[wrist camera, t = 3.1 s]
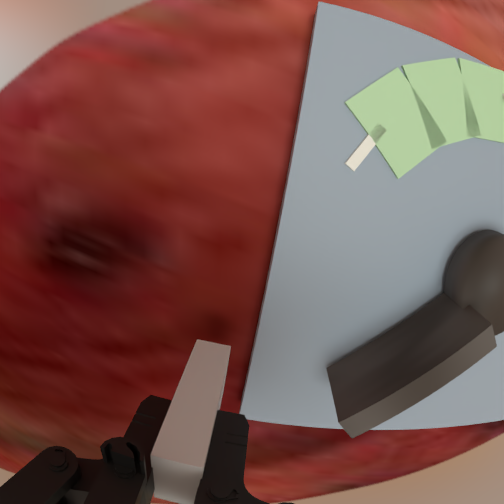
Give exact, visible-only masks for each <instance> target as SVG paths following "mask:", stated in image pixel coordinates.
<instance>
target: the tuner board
mask: <svg viewBox="0 0 504 504" xmlns="http://www.w3.org/2000/svg"><path fill="white" fill-rule="evenodd" d="M482 230H494V231H497V232H499V233H502V234H504V71H501V70H498V69H495V68H492V67H490V66H489V65H487V64H485V63H483V62H481V61H480V60H478V59H476V58H474V57H472V56H470V55H468V54H466V53H464V52H462V51H460V50H458V49H456V48H454V47H452V46H450V45H448V44H446V43H443V42H441V41H439V40H437V39H434V38H432V37H430V36H427V35H425V34H423V33H420V32H418V31H415V30H413V29H410V28H407V27H405V26H402V25H399V24H396V23H394V22H391V21H388V20H385V19H382V18H379V17H376V16H372V15H369V14H366V13H362V12H359V11H355V10H352V9H348V8H344V7H340V6H336V5H332V4H328V3H323V2H318V6H317V9H316V12H315V17H314V23H313V29H312V35H311V41H310V47H309V54H308V60H307V65H306V71H305V77H304V83H303V89H302V95H301V100H300V106H299V112H298V118H297V123H296V129H295V134H294V140H293V145H292V151H291V156H290V162H289V167H288V173H287V178H286V183H285V189H284V194H283V199H282V204H281V210H280V215H279V220H278V225H277V230H276V235H275V241H274V246H273V251H272V256H271V261H270V266H269V271H268V276H267V281H266V286H265V291H264V296H263V300H262V305H261V310H260V315H259V320H258V325H257V329H256V334H255V339H254V344H253V348H252V353H251V358H250V362H249V367H248V372H247V376H246V381H245V386H244V390H243V395H242V399H241V405H240V413H239V414H243V415H245V417H246V419H249V420H255V421H262V422H270V423H278V424H286V425H296V426H306V427H319V428H334V429H343V427H342V426H341V425H340V424H339V423H338V418H337V414H336V409H335V405H334V400H333V395H332V391H331V387H330V382H329V378H328V373H327V369H326V368H327V367H329V366H331V365H333V364H334V363H336V362H338V361H340V360H342V359H343V358H345V357H347V356H349V355H350V354H352V353H354V352H355V351H357V350H359V349H360V348H362V347H364V346H365V345H367V344H369V343H370V342H372V341H374V340H375V339H377V338H378V337H380V336H382V335H383V334H385V333H386V332H388V331H389V330H391V329H393V328H394V327H396V326H397V325H399V324H400V323H402V322H403V321H405V320H406V319H408V318H409V317H411V316H412V315H414V314H415V313H417V312H418V311H419V310H421V309H422V308H424V307H425V306H427V305H428V304H429V303H431V302H432V301H434V300H435V299H436V298H438V297H439V296H440V295H442V294H443V293H444V281H445V275H446V271H447V268H448V265H449V263H450V261H451V258H452V256H453V255H454V253H455V251H456V250H457V249H458V247H459V246H460V245H461V244H462V243H463V241H465V240H466V239H467V238H468V237H469V236H471V235H472V234H474V233H476V232H479V231H482ZM495 339H496V344H497V347H496V348H494V349H493V350H492V351H491V352H490V353H488V354H487V355H486V356H484V357H483V358H482V359H481V360H479V361H478V362H477V363H475V364H474V365H473V366H471V367H470V368H469V369H467V370H466V371H465V372H463V373H462V374H461V375H459V376H458V377H456V378H455V379H453V380H452V381H451V382H449V383H448V384H446V385H445V386H443V387H442V388H440V389H439V390H437V391H436V392H434V393H433V394H431V395H429V396H428V397H426V398H425V399H423V400H421V401H420V402H418V403H417V404H415V405H413V406H412V407H410V408H408V409H407V410H405V411H403V412H401V413H400V414H398V415H396V416H394V417H393V418H391V419H389V420H387V421H385V422H383V423H382V424H380V425H378V426H376V427H374V428H372V429H370V430H403V429H426V428H441V427H453V426H462V425H471V424H479V423H486V422H493V421H499V420H504V332H502V333H500V334H498V335H496V336H495Z"/></svg>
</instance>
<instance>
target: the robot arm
mask: <svg viewBox="0 0 504 504" xmlns="http://www.w3.org/2000/svg"><path fill="white" fill-rule="evenodd" d="M230 350H231V346H228V345H223V344H218V343H213V342H208V341H203V340H198V339H197V341H196V343H195V346H194V348H193V350H192V353H191V355H190V358H189V360H188V363H187V365H186V367H185V370H184V372H183V375H182V377H181V380H180V382H179V385H178V387H177V390H176V392H175V395H174V397H173V399H172V400H168V399H164V398H160V397H156V396H153V395H150V396H149V397H148V398H146V399H145V400H144V401H142V402H141V404H140V406H139V408H138V410H137V411H136V414H135V415H134V417H133V419H132V422H131V423H130V425H129V427H128V429H127V431H126V433H125V435H124V437H116V438H111V439H109V440H107V441H105V442H104V443H103V444H102V445H101V446H100V448H101V452H102V456H103V459H100V460H92V459H83V458H76V455H75V454H74V453H73V452H72V451H71V450H69V449H67V448H65V447H60V446H53V447H49V448H47V449H45V450H43V451H42V452H41V453H40V454H39V455H37V456H36V457H35V458H34V459H33V460H31V461H30V462H29V463H28V464H27V465H26V466H24V467H23V468H22V469H21V470H20V471H19V472H17V473H16V474H15V475H14V476H13V477H12V478H10V479H9V480H8V481H7V482H6V483H4V484H3V485H2V486H1V487H0V504H150V501H151V498H152V496H153V493H154V497H157V498H160V499H164V500H168V501H172V502H176V503H180V504H269V503H266V502H264V501H261V500H259V499H257V498H255V497H253V496H252V495H251V494H250V493H249V492H248V491H247V489H246V488H245V485H244V479H243V477H244V468H245V459H246V450H247V441H248V431H249V424H248V422H247V419H246V417H245V415H243V414H237V413H231V412H226V411H221V410H219V409H220V405H221V400H222V396H223V391H224V385H225V379H226V373H227V368H228V362H229V356H230ZM279 504H294V503H279Z"/></svg>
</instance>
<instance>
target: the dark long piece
mask: <svg viewBox="0 0 504 504" xmlns="http://www.w3.org/2000/svg"><path fill="white" fill-rule="evenodd" d="M502 332H504V234H502V233H499V232H497V231H494V230H482V231H479V232H476V233H474V234H472V235H471V236H469V237H468V238H467V239H466V240H465V241H463V243H462V244H461V245H460V246H459V247H458V249H457V250H456V251H455V253H454V255H453V256H452V258H451V261H450V263H449V265H448V268H447V271H446V275H445V281H444V293H443V294H442V295H440V296H439V297H438V298H436V299H435V300H434V301H432V302H431V303H429V304H428V305H427V306H425V307H424V308H422V309H421V310H419V311H418V312H417V313H415V314H414V315H412V316H411V317H409V318H408V319H406V320H405V321H403V322H402V323H400V324H399V325H397V326H396V327H394V328H393V329H391V330H389V331H388V332H386V333H385V334H383V335H382V336H380V337H378V338H377V339H375V340H374V341H372V342H370V343H369V344H367V345H365V346H364V347H362V348H360V349H359V350H357V351H355V352H354V353H352V354H350V355H349V356H347V357H345V358H343V359H342V360H340V361H338V362H336V363H334V364H333V365H331V366H329V367H327V368H326V369H327V373H328V378H329V382H330V387H331V391H332V395H333V400H334V405H335V409H336V414H337V418H338V423H339V424H340V425H341V426H342V427H343V429H344V430H345V431H346V432H347V433H348V434H349V436H350V437H351V438H354V437H356V436H358V435H360V434H362V433H364V432H366V431H368V430H370V429H372V428H374V427H376V426H378V425H380V424H382V423H383V422H385V421H387V420H389V419H391V418H393V417H394V416H396V415H398V414H400V413H401V412H403V411H405V410H407V409H408V408H410V407H412V406H413V405H415V404H417V403H418V402H420V401H421V400H423V399H425V398H426V397H428V396H429V395H431V394H433V393H434V392H436V391H437V390H439V389H440V388H442V387H443V386H445V385H446V384H448V383H449V382H451V381H452V380H453V379H455V378H456V377H458V376H459V375H461V374H462V373H463V372H465V371H466V370H467V369H469V368H470V367H471V366H473V365H474V364H475V363H477V362H478V361H479V360H481V359H482V358H483V357H484V356H486V355H487V354H488V353H490V352H491V351H492V350H493V349H494V348H496V347H497V344H496V339H495V336H496V335H498V334H500V333H502Z"/></svg>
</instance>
